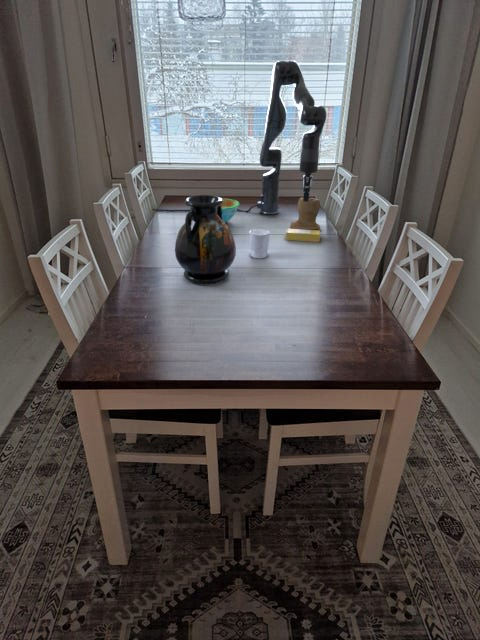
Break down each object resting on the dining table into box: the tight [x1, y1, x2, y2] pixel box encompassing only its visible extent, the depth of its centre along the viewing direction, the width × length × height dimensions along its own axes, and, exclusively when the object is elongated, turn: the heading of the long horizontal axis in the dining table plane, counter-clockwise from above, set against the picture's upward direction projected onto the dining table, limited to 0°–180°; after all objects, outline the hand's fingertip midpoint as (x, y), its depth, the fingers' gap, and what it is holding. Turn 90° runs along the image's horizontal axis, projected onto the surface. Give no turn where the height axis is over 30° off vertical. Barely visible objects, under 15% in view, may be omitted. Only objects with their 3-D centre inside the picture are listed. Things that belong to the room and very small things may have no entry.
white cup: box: [249, 228, 271, 259], centre depth 166 cm, size 8×8×10 cm
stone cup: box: [289, 197, 321, 230], centre depth 198 cm, size 15×12×15 cm
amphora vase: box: [174, 194, 237, 286], centre depth 143 cm, size 22×22×28 cm
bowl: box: [220, 197, 240, 224], centre depth 207 cm, size 22×22×10 cm
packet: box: [285, 228, 321, 243], centre depth 187 cm, size 15×6×4 cm, turn 80°
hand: (306, 199), depth 179 cm, fingers open, 8 cm apart
